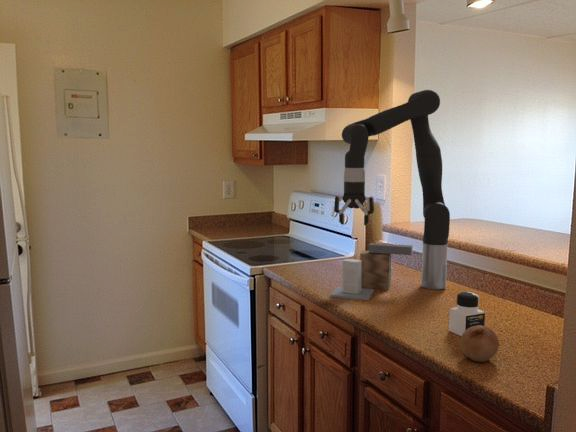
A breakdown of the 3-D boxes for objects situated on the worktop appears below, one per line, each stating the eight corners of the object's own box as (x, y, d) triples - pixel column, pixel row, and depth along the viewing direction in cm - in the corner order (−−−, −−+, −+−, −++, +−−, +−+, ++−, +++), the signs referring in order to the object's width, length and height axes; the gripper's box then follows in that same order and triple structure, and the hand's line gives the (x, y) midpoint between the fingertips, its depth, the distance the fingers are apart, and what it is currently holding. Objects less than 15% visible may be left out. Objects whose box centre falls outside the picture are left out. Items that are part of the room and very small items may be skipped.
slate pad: (373, 291, 201) (374, 289, 201) (368, 300, 189) (368, 298, 189) (337, 288, 205) (337, 286, 205) (330, 296, 194) (330, 294, 194)
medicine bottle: (465, 338, 152) (467, 298, 150) (448, 330, 158) (450, 291, 157) (484, 335, 155) (486, 295, 153) (467, 327, 161) (469, 289, 160)
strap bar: (412, 253, 202) (412, 245, 202) (411, 255, 199) (411, 247, 198) (370, 250, 207) (370, 243, 207) (368, 252, 204) (368, 244, 203)
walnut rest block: (390, 286, 208) (391, 252, 206) (388, 290, 202) (389, 255, 200) (362, 284, 211) (363, 250, 209) (359, 288, 205) (360, 253, 204)
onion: (478, 376, 135) (476, 348, 130) (453, 353, 142) (451, 326, 137) (507, 358, 137) (507, 330, 132) (481, 337, 145) (480, 310, 140)
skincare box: (361, 291, 198) (362, 260, 196) (357, 294, 194) (357, 262, 192) (346, 289, 200) (346, 258, 199) (341, 292, 197) (342, 260, 195)
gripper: (375, 179, 193) (374, 224, 195) (337, 179, 197) (337, 222, 200) (372, 181, 186) (371, 227, 188) (332, 180, 190) (332, 225, 193)
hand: (353, 224), depth 194 cm, fingers open, 8 cm apart
